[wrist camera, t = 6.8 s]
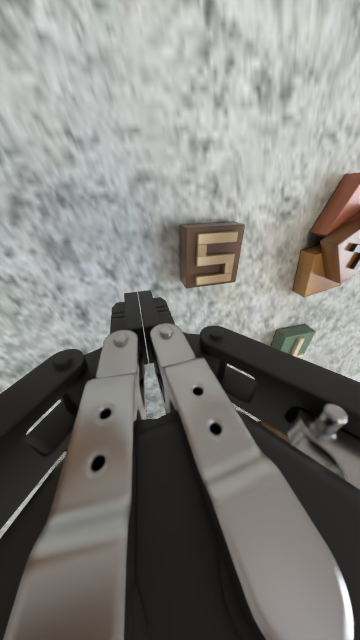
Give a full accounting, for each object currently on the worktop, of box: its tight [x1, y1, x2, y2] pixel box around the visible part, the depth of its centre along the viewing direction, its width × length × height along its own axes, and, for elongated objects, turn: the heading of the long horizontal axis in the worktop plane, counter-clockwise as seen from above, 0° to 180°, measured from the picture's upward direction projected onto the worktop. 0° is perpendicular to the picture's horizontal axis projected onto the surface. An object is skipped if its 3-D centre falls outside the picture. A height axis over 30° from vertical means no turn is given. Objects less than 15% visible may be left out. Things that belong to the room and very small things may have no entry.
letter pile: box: [293, 173, 360, 297], centre depth 22 cm, size 8×14×5 cm, turn 1°
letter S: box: [180, 222, 245, 288], centre depth 20 cm, size 6×6×3 cm
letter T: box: [271, 324, 316, 358], centre depth 33 cm, size 6×6×3 cm
